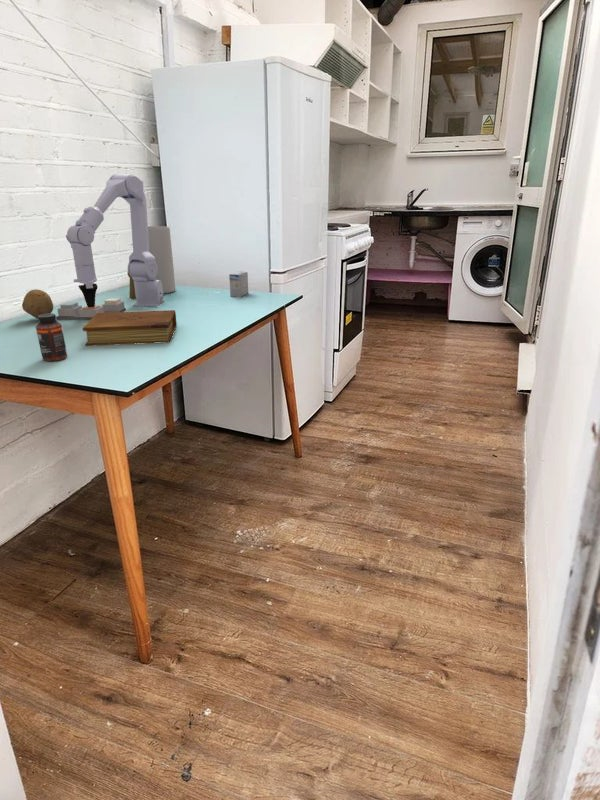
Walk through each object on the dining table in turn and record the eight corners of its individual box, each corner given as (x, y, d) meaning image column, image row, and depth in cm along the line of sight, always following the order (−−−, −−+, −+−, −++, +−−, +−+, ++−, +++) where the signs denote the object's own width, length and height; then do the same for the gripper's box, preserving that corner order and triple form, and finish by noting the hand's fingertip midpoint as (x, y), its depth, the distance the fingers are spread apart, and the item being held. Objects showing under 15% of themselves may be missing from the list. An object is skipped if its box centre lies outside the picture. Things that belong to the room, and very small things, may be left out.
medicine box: (238, 293, 215) (237, 271, 212) (248, 293, 214) (247, 271, 211) (230, 296, 208) (228, 274, 205) (240, 297, 207) (239, 274, 204)
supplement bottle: (71, 355, 140) (64, 312, 136) (61, 362, 134) (53, 317, 130) (49, 355, 140) (40, 312, 136) (38, 362, 135) (28, 317, 130)
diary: (177, 327, 167) (175, 309, 165) (170, 344, 150) (168, 324, 148) (100, 330, 165) (98, 311, 163) (85, 347, 148) (82, 327, 146)
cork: (143, 299, 206) (139, 269, 202) (127, 299, 206) (123, 270, 202) (147, 295, 212) (144, 267, 207) (132, 296, 212) (128, 267, 207)
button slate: (78, 309, 181) (77, 302, 180) (73, 312, 177) (71, 305, 177) (67, 309, 181) (66, 302, 181) (61, 312, 178) (60, 305, 177)
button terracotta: (100, 312, 180) (99, 305, 179) (95, 315, 176) (94, 308, 175) (89, 312, 180) (88, 305, 179) (83, 315, 176) (82, 307, 176)
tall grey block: (172, 294, 214) (165, 228, 204) (140, 294, 214) (132, 229, 204) (178, 288, 225) (172, 226, 216) (148, 289, 225) (141, 226, 216)
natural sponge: (19, 323, 172) (13, 292, 168) (33, 316, 180) (27, 286, 177) (47, 323, 172) (41, 292, 168) (60, 316, 180) (54, 286, 176)
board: (126, 310, 188) (124, 301, 187) (109, 319, 175) (108, 310, 174) (76, 309, 190) (75, 300, 188) (56, 319, 177) (55, 309, 176)
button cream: (121, 305, 187) (120, 298, 186) (116, 307, 183) (115, 300, 182) (110, 305, 187) (109, 298, 186) (105, 307, 183) (104, 300, 182)
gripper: (69, 262, 177) (76, 303, 182) (72, 268, 164) (80, 312, 170) (92, 261, 179) (98, 301, 185) (97, 267, 167) (103, 310, 172)
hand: (91, 306), depth 177 cm, fingers closed, pressing on button terracotta
